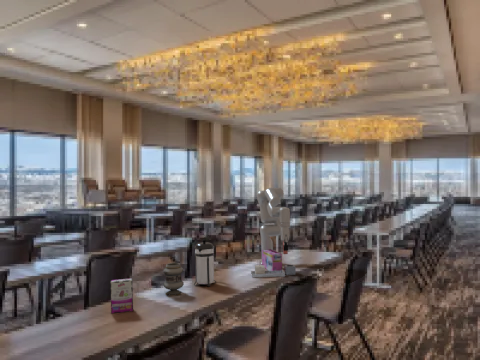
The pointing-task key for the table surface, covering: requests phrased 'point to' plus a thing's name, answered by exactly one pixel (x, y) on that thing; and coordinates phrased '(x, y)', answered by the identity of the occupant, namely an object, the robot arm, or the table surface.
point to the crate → (259, 269)
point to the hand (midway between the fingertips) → (285, 249)
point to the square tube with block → (289, 269)
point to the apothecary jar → (173, 278)
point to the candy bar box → (121, 295)
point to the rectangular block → (270, 273)
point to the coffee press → (204, 263)
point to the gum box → (271, 260)
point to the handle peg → (283, 249)
